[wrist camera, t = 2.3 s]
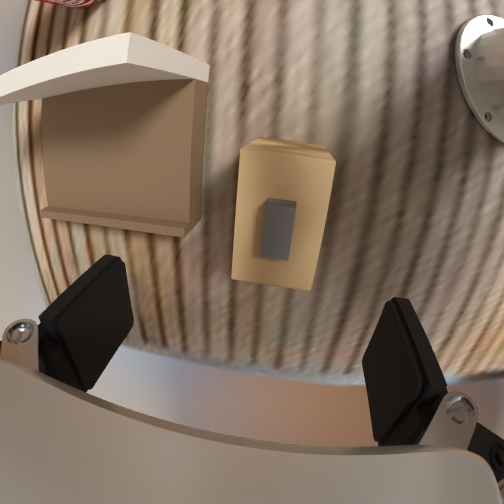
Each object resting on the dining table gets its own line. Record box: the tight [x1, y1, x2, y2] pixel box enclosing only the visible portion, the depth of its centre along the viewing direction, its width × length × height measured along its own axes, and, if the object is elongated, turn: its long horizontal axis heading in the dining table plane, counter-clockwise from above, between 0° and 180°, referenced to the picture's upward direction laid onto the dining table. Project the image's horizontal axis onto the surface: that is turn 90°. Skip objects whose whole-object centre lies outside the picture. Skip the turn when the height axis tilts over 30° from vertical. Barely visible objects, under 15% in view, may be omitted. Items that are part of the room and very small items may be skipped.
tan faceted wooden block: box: [231, 137, 336, 291], centre depth 19 cm, size 5×8×9 cm, turn 175°
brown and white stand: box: [0, 32, 210, 238], centre depth 18 cm, size 16×13×12 cm
